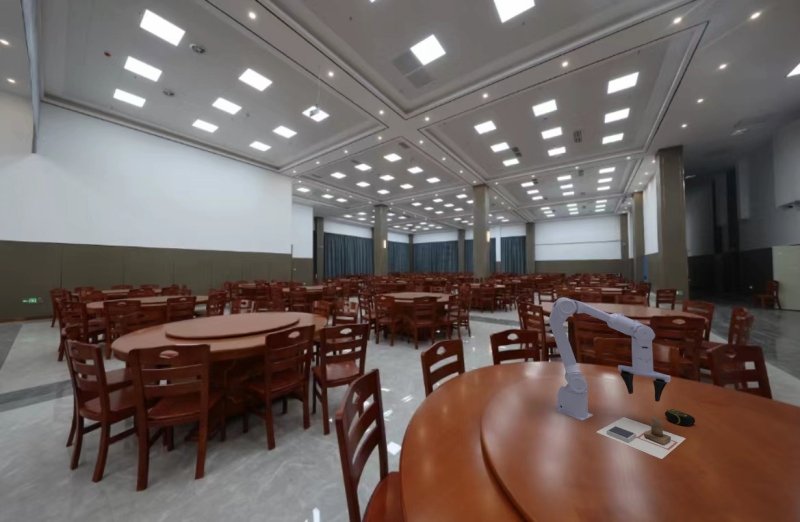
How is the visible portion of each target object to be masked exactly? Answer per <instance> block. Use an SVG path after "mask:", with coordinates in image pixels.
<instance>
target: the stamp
mask: <svg viewBox="0 0 800 522" xmlns="http://www.w3.org/2000/svg"><path fill="white" fill-rule="evenodd" d="M650 426H651V430H649V431H647V432H645V433H644V437H645V438H646V439H649V440H651V441H654V442H656V443H659V444H661V445H665V444H667V443H668V442H670V441H671V436H668V435H665V434H663V431H664V428H663V427H664V425H663V419H662V418H660V417H656V416H650Z"/></svg>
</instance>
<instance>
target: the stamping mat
mask: <svg viewBox="0 0 800 522" xmlns="http://www.w3.org/2000/svg"><path fill="white" fill-rule="evenodd" d="M649 430H651V425H649V424H645V423H642V422H640V421H636V420H634V419H631V418H627V417H625V416H623V417H621V418H619V419H617V420H616V421H614V422H611V423H610V424H608V425H606V426H605V427H603V428H601V429H599V430H597V431H596V434H598V435H602V436H605V437H607V438H609V439H612V440H614V441H616V442H619V443H621V444H624V445H626V446H629V447H631V448H634V449H636V450H639V451H641V452H644V453H646V454H648V455H650V456H653V457H655V458H658V459H660V460H662V459H664V458H665V457H667V455H668V454H670V453H671V452H672V451H674V450H675V449H676V448H677V447H678V446H679V445H681V443H683V442H684V441H685V440H686V439H687V438H685V437H683V436H681V435H680V436H679V435H677V434H675V433H671V432H668V431H666V430H663V434H665V435H668V436H671V441H670V442H668V443H667V444H665V445H661V444H659V443H656V442H654V441H651V440H649V439H646V438H645V437H644V433H645V432H647V431H649Z"/></svg>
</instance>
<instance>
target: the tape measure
mask: <svg viewBox="0 0 800 522" xmlns="http://www.w3.org/2000/svg"><path fill="white" fill-rule="evenodd" d="M664 415H665V417H666V419H667V421H669V422H671V423H674V424H676V425H679V426H684V427H685V426H686V427H690V426H691V425H694V424H695V423H696V418H695V417H694V416H692V415H690V414H688V413H686V412H683V411H680V410H677V409H673V408H672V409H666V411H665V412H664Z"/></svg>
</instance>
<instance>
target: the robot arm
mask: <svg viewBox="0 0 800 522" xmlns="http://www.w3.org/2000/svg"><path fill="white" fill-rule="evenodd" d="M575 313H576V314H587V315H589V316H591V317H594V318H596V319H599V320H601V321H604V322H606V323H607V326H608V327H609V328H610V329H613V330H616V331H618V332H620V333H623V334H624V335H626V336H630V337H631V362H632V363H631V364H632V366H628V365H622V364H619V365H617V371H618V372H620V377H621V379H622V380H623V381H624V384H625V387H626V389H627V393H628V395H632V394H634V375H636V376H641V377H645V378H648V379H649V378H650V379H653V381H652V383H653V388H654V401H655V402H657V403H658V402H660V401H661V396H662V393H663V391H664V388H665V387H666V386H667V384H668V383H671V380H672V379H671V378H672V377H671V375H667V374H664V373H661V372H657V371H655V370H654V357H653V355H654V354H653V353H654V352H653V340H654V339H655V337H656V334H655V331H654V330H653V329H652V327H650V326H648V325H646V324H643V323H641V322H640V321H639V320H637V319H631V318H629V317H627V316H625V314H624V313H621V312H620V313H618V312H614V313H608V312H605V311H603V310H601V309H598V308H596V307H594V306H592V305H590V304H588V303H585V302H582V301H579V300H576V299H571V298H568V297H563V296H562V297H559V298H557V300H556V301H554V303H553V304H552V308H551V312H550V315H549V317H548V323H549V326H550V329H551V331H552V335H553V337H554V341H555V343H556V347H557V350H558V353H559V356H560V357H561V361H562V364H563V368H564V370H565V375H564V378H565V381H566V382H567V383H566V385H565V386H563V385H561V386H560V387H559V389H558V391H557V409H556V411H557V412H559V413H561V414H564V415H567V416H569V417H571V418H574V419H576V420H579V421H586V420H587V419H589V418H591V417H594V414H592V413H590V412H589V410H588V409H589V408H588V406H589V405H588V404H589V403H588V387H589V385H588V382H587V380H586V379H585V378H584V375H583V374H582V372H581V371H580V368H579V366H578V363H577V360H576V358H575V354H574V352H573V349H572V346H571V344H570V340H569V338H568V334H567V332H566V329H565V326H564V323H565V321H566V320H567V319H568V318H569V317H570V316H572V315H574V314H575Z"/></svg>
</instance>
